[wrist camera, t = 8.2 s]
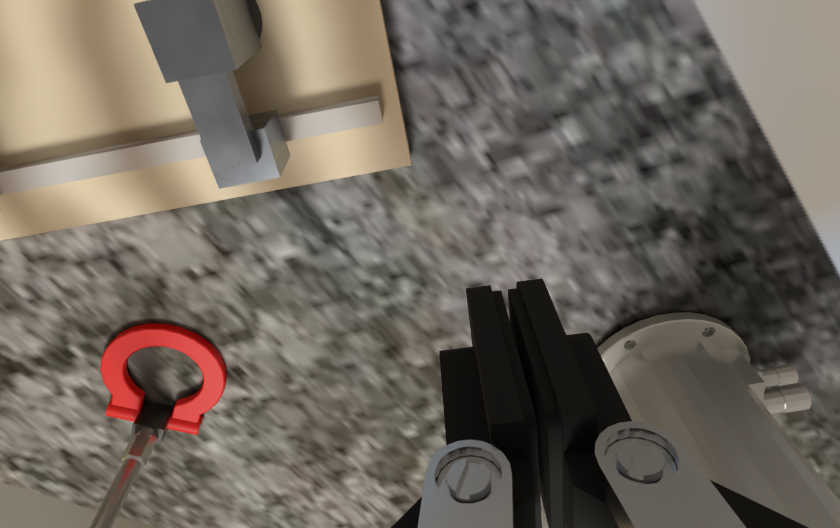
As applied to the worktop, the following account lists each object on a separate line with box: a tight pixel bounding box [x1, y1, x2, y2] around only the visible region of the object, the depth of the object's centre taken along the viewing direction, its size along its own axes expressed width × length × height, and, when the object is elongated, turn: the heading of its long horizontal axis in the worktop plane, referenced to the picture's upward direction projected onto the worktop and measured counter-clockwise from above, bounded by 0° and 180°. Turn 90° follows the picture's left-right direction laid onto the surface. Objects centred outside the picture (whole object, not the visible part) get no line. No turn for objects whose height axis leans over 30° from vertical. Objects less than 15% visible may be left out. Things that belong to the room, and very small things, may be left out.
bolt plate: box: [0, 0, 411, 240], centre depth 26 cm, size 27×14×7 cm, turn 100°
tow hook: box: [89, 323, 227, 528], centre depth 34 cm, size 8×13×9 cm
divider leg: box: [133, 0, 290, 189], centre depth 25 cm, size 3×8×5 cm, turn 10°
